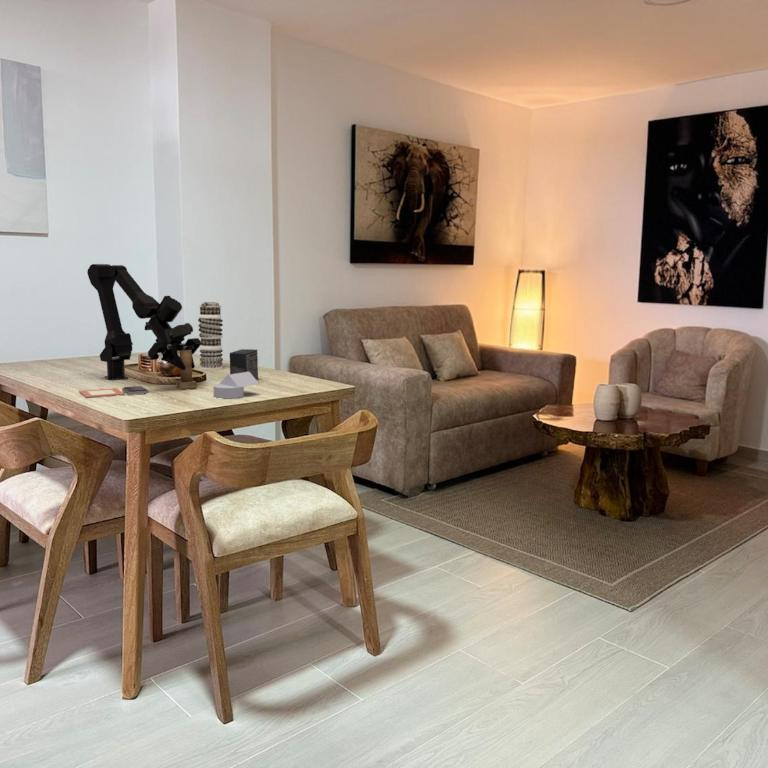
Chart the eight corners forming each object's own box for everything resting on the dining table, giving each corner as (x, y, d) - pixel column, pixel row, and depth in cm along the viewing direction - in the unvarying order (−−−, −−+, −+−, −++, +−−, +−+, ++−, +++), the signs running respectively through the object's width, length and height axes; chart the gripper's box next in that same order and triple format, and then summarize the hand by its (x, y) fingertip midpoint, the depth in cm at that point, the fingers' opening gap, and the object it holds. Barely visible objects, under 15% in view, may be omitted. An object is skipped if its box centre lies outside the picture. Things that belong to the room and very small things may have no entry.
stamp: (176, 387, 235) (175, 349, 233) (191, 386, 237) (190, 349, 235) (181, 390, 231) (180, 351, 229) (196, 389, 233) (195, 350, 231)
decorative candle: (198, 370, 273) (197, 303, 268) (199, 366, 281) (197, 301, 277) (223, 369, 275) (222, 303, 271) (223, 366, 284) (222, 301, 279)
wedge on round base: (239, 391, 232) (207, 396, 221) (239, 370, 231) (206, 374, 220) (259, 394, 226) (227, 400, 216) (259, 373, 225) (227, 378, 215)
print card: (79, 392, 224) (79, 390, 224) (116, 389, 230) (116, 388, 230) (86, 398, 215) (86, 396, 215) (124, 395, 221) (124, 393, 221)
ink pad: (122, 391, 227) (122, 387, 227) (142, 389, 230) (141, 385, 230) (128, 395, 221) (128, 391, 220) (148, 393, 224) (148, 389, 224)
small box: (241, 378, 256) (240, 348, 255) (258, 379, 255) (258, 349, 253) (229, 382, 246) (228, 352, 244) (247, 383, 245) (246, 352, 243)
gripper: (153, 316, 224) (179, 355, 220) (196, 313, 240) (222, 349, 236) (136, 340, 229) (162, 378, 226) (180, 335, 245) (205, 371, 242)
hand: (189, 368), depth 232 cm, fingers closed on stamp, 4 cm apart
